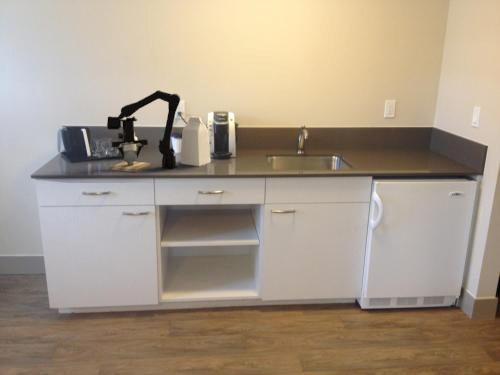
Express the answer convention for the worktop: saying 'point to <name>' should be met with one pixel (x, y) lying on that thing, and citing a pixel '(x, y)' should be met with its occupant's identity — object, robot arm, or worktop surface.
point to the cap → (130, 155)
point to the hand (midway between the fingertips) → (130, 158)
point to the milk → (195, 143)
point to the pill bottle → (131, 145)
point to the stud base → (130, 166)
